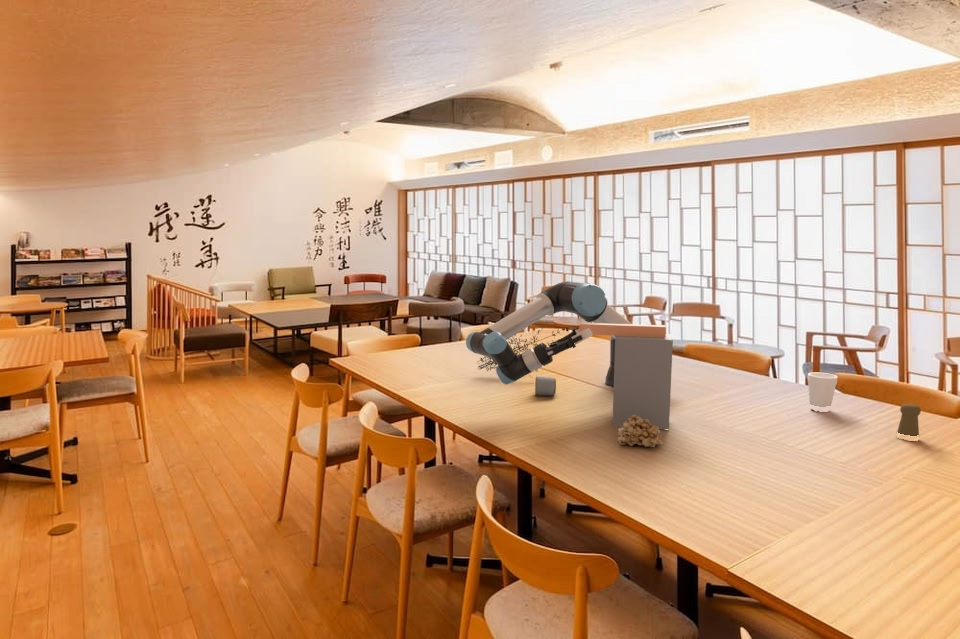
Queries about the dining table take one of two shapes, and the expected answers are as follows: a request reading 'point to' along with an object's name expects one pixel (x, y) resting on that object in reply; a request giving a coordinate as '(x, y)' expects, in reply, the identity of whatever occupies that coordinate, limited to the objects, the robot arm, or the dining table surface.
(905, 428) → the olive pepper mill
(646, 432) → the mineral formation
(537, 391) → the ceramic mug
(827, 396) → the foam cup
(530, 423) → the dining table surface
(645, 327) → the rail
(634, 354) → the stand
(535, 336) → the dried plant
